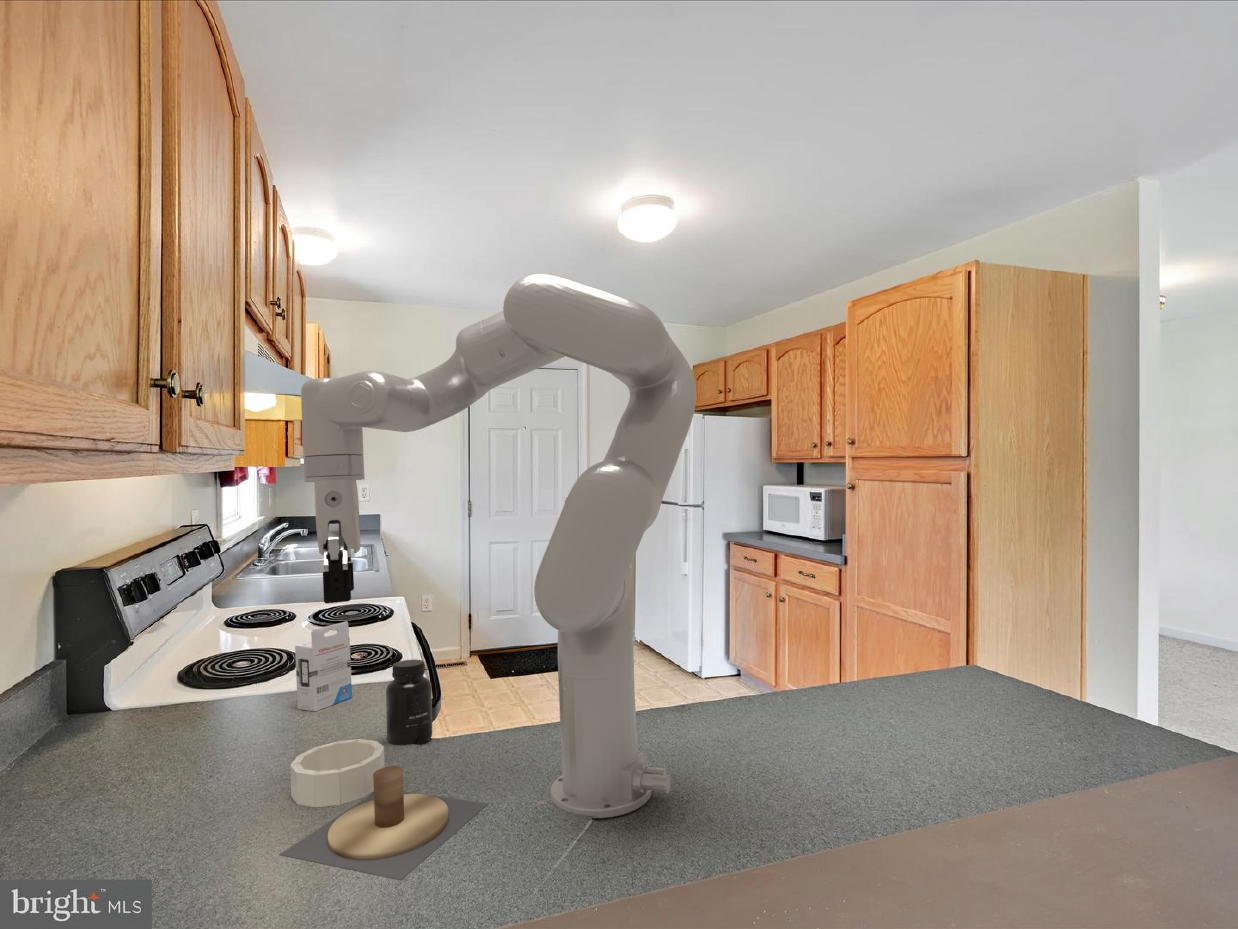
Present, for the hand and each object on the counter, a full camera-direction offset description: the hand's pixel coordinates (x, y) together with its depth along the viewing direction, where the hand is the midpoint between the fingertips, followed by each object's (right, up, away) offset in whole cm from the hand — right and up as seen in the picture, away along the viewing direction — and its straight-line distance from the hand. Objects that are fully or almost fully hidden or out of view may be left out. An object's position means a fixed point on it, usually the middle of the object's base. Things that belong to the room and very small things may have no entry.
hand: (339, 596), depth 90 cm
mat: (+12, -24, -14) cm, 30 cm away
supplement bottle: (+5, -26, +14) cm, 30 cm away
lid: (+12, -24, -14) cm, 30 cm away
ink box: (-17, -27, +34) cm, 47 cm away
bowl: (+1, -25, -2) cm, 25 cm away
